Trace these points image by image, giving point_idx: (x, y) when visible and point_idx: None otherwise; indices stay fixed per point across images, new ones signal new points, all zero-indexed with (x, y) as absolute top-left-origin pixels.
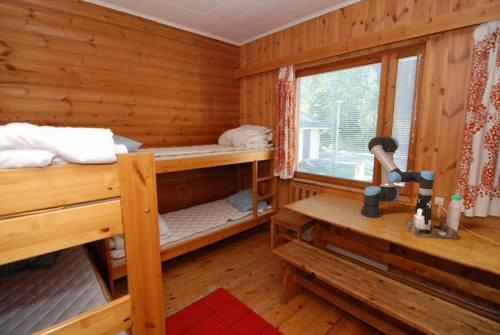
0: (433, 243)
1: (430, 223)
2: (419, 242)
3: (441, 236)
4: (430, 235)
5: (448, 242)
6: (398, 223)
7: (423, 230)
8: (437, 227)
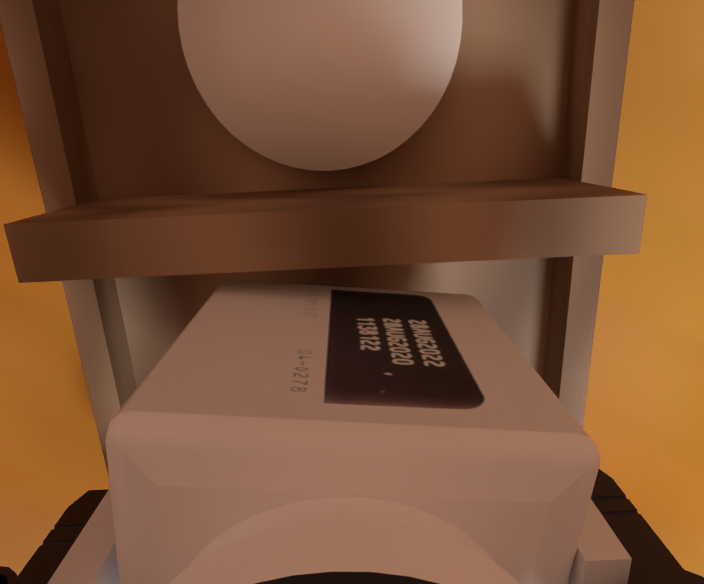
0: (693, 312)
1: (540, 379)
2: (657, 476)
3: (615, 126)
4: (577, 315)
5: (667, 38)
6: (4, 513)
7: (263, 277)
8: None
